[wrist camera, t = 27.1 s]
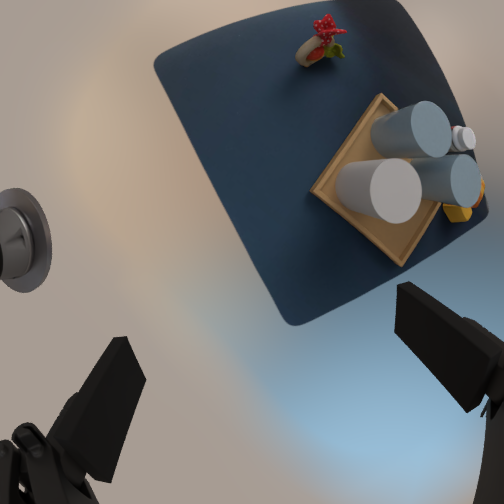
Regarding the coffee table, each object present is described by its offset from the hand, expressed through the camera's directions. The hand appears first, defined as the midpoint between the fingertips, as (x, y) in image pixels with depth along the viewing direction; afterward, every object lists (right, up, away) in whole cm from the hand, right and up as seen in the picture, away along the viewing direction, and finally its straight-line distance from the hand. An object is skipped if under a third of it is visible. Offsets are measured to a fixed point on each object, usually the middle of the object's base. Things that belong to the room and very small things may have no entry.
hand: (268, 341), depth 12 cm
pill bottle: (+36, +26, +29) cm, 52 cm away
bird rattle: (+10, +36, +24) cm, 44 cm away
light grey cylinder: (+16, +15, +30) cm, 37 cm away
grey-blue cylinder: (+30, +17, +30) cm, 46 cm away
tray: (+23, +16, +30) cm, 41 cm away
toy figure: (+42, +16, +32) cm, 55 cm away
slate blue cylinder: (+23, +23, +27) cm, 43 cm away
